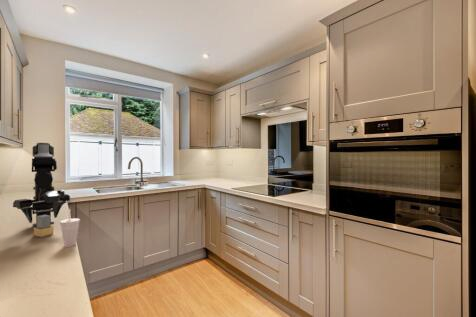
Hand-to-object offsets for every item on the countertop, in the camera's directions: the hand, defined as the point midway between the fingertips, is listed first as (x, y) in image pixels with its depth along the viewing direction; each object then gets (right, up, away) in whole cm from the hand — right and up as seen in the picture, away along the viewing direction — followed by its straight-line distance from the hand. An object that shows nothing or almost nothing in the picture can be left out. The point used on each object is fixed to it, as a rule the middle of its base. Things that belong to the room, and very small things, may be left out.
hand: (43, 220), depth 100 cm
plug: (0, -6, 0) cm, 6 cm away
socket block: (0, -7, 0) cm, 7 cm away
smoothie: (+20, -7, -11) cm, 24 cm away
